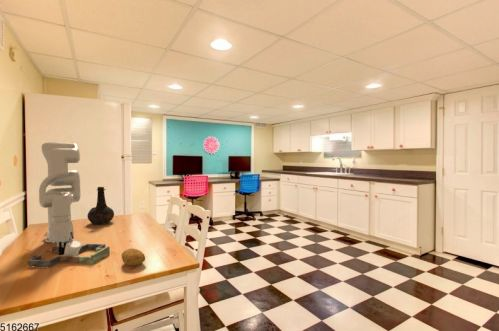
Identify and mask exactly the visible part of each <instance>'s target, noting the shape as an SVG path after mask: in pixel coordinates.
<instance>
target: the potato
mask: <svg viewBox="0 0 499 331" xmlns="http://www.w3.org/2000/svg"><path fill="white" fill-rule="evenodd" d="M121 261H122V262H123V264H125V265H128V266H130V267H131V266H132V267H135V266H139V265H142V264H143V263H144V262H145V261H146V255H145V254H144V253H143V251H141V250H140V249H137V248H128V249H125V250H124V251H123V252H122V253H121Z"/></svg>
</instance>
